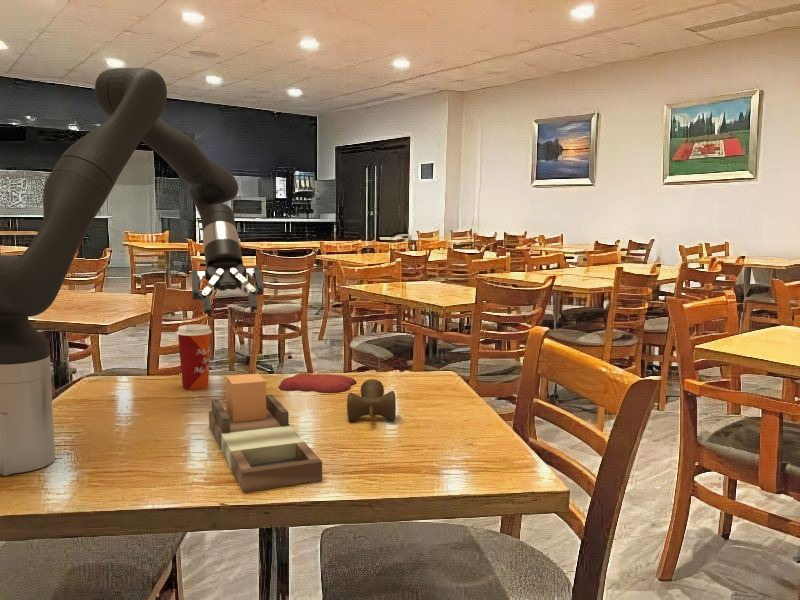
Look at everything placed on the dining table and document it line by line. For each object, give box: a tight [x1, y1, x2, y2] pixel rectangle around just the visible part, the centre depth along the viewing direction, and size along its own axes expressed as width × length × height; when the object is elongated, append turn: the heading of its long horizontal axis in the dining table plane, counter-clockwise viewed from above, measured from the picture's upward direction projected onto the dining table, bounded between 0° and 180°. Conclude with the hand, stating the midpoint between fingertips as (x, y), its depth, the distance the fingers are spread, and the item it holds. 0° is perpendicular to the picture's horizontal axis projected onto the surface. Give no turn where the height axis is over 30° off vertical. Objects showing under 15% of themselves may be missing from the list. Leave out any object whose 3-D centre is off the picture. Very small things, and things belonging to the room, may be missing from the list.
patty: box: [278, 372, 358, 394], centre depth 159 cm, size 18×14×2 cm
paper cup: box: [176, 323, 213, 391], centre depth 155 cm, size 8×8×14 cm
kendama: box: [346, 378, 397, 422], centre depth 138 cm, size 6×10×20 cm
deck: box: [208, 394, 323, 493], centre depth 115 cm, size 32×12×6 cm, turn 24°
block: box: [225, 373, 267, 422], centre depth 125 cm, size 6×6×7 cm
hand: (231, 312), depth 136 cm, fingers open, 8 cm apart
